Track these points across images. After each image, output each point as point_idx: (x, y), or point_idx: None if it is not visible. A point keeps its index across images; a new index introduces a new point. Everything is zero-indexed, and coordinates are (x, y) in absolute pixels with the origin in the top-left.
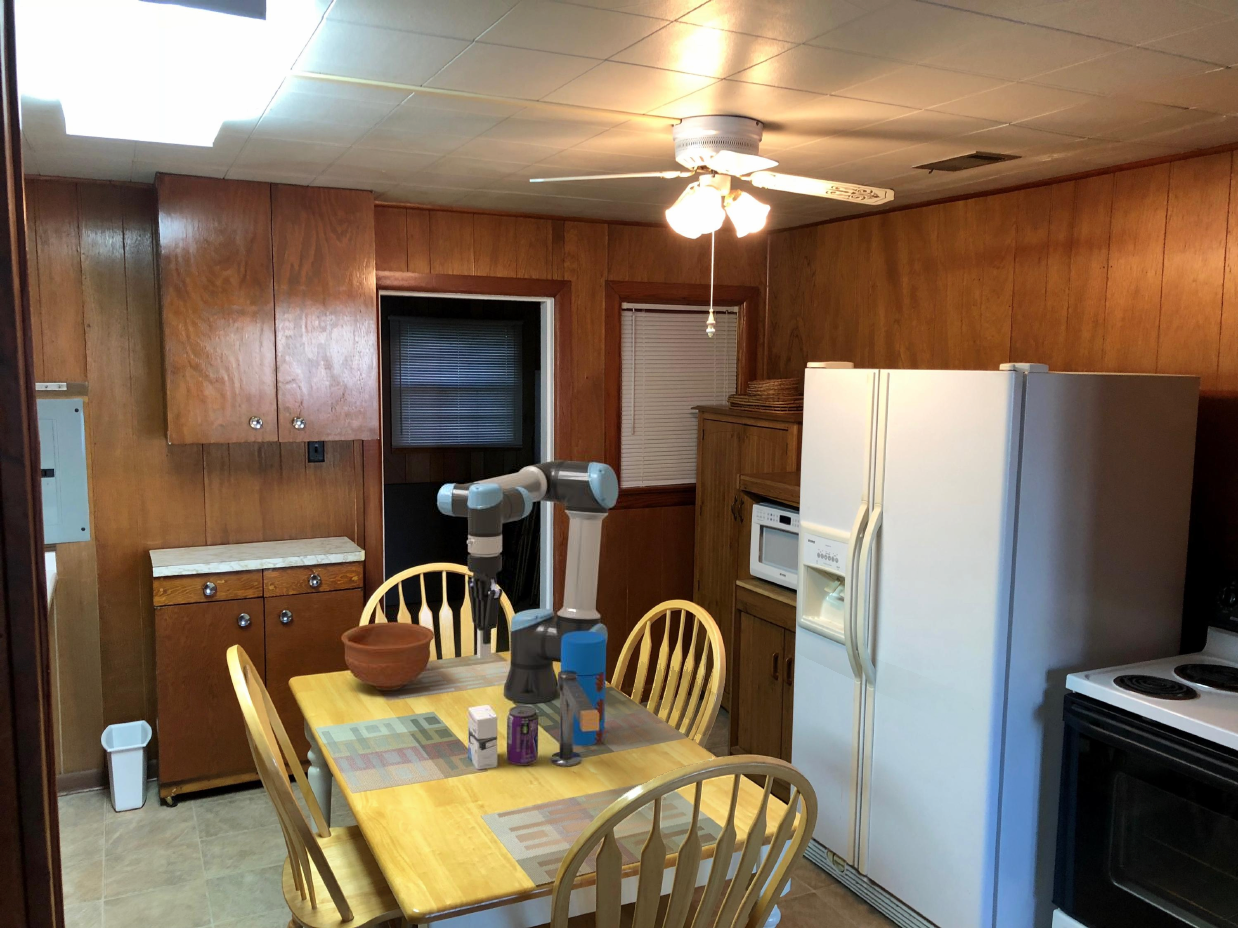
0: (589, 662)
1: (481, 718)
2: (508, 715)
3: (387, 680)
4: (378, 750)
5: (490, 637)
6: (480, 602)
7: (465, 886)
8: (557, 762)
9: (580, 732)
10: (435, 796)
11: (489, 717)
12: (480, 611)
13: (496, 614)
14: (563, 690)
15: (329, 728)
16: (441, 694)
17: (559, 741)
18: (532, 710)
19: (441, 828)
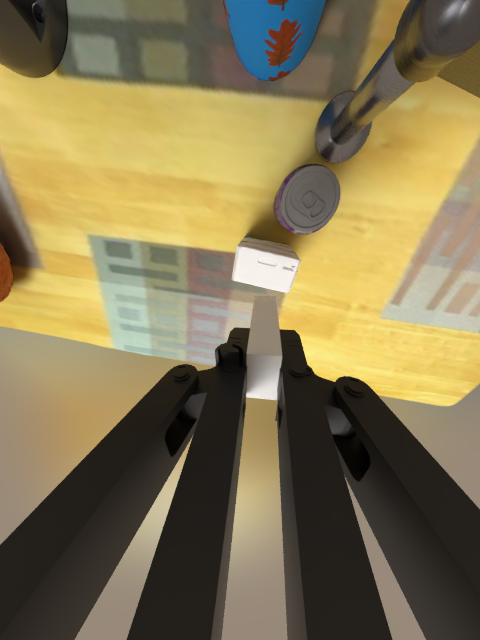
0: None
1: (288, 285)
2: (292, 229)
3: (9, 271)
4: (185, 329)
5: (302, 348)
6: (222, 612)
7: (464, 376)
8: (347, 159)
9: (313, 31)
10: (311, 331)
11: (293, 273)
12: (236, 487)
13: (460, 509)
14: (468, 80)
15: (119, 342)
16: (19, 193)
17: (344, 134)
18: (319, 177)
19: (369, 352)
